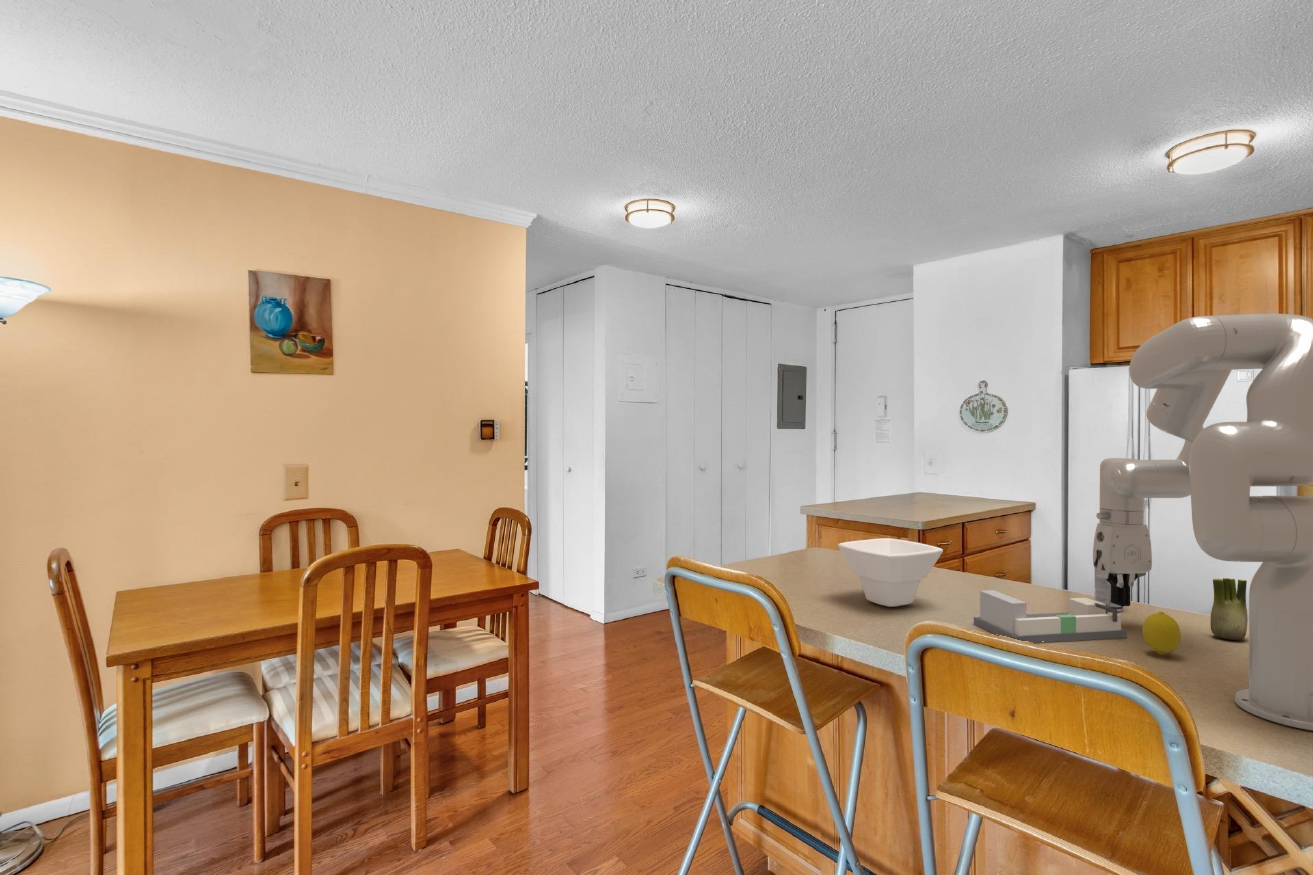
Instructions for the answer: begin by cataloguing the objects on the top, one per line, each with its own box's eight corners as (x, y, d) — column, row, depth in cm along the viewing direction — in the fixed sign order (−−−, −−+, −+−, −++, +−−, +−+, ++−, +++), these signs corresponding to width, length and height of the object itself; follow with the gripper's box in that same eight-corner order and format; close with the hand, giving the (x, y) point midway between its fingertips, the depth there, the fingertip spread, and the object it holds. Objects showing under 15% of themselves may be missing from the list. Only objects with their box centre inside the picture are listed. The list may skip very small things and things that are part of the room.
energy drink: (1128, 610, 145) (1128, 558, 145) (1113, 613, 143) (1113, 560, 143) (1104, 604, 150) (1104, 553, 150) (1089, 607, 148) (1089, 555, 148)
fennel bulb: (1246, 637, 126) (1246, 577, 126) (1251, 645, 122) (1251, 582, 122) (1207, 633, 129) (1207, 573, 129) (1211, 639, 125) (1211, 578, 125)
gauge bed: (1126, 637, 127) (1126, 600, 127) (1015, 644, 124) (1015, 605, 124) (1075, 618, 140) (1075, 584, 140) (973, 624, 137) (973, 589, 137)
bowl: (831, 599, 157) (830, 543, 157) (890, 590, 165) (890, 536, 165) (888, 620, 140) (887, 556, 140) (951, 608, 148) (951, 548, 148)
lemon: (1165, 662, 114) (1165, 617, 114) (1135, 651, 119) (1134, 608, 119) (1188, 658, 115) (1188, 614, 115) (1157, 648, 121) (1157, 606, 120)
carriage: (1127, 630, 126) (1127, 609, 126) (1106, 631, 126) (1106, 610, 125) (1088, 616, 136) (1088, 596, 136) (1069, 617, 135) (1069, 597, 135)
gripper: (1103, 521, 129) (1102, 611, 130) (1169, 519, 131) (1168, 608, 132) (1074, 515, 137) (1074, 601, 137) (1137, 513, 138) (1136, 597, 139)
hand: (1120, 604), depth 134 cm, fingers closed
